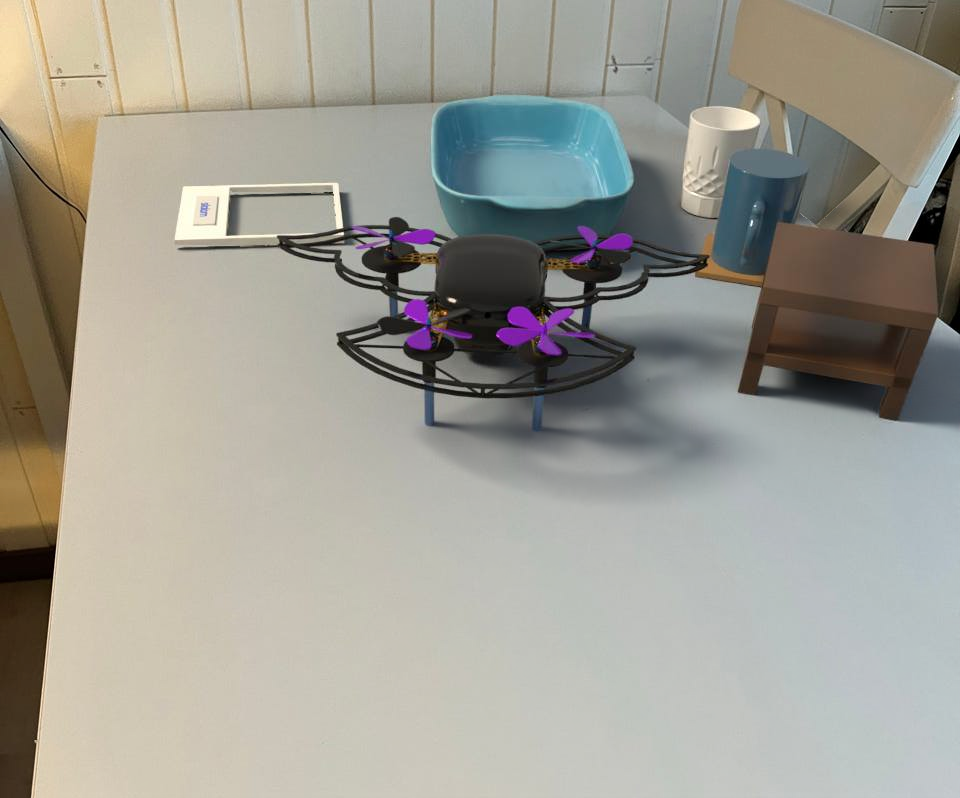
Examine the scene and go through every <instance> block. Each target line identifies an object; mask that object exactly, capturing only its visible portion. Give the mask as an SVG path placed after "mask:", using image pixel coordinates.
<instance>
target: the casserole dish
mask: <svg viewBox="0 0 960 798" xmlns="http://www.w3.org/2000/svg"><path fill="white" fill-rule="evenodd" d="M430 169H431V175H432V178H433V182H434V185H435V190H436V194H437V197H438V202H439V204H440V207H441V210H442V213H443V215H444V218H445V220H446V223H447V224H448V226H449V227H450V229H451V230H452V232H454V234H455V235H456V236H457V237H459V236H464V235H473V234H499V235H508V236H515V237H519V238H523V239H526V240H529V241H531V242H538V241H542V240H546V239H551V238H557V237H564V236H574V235H582V234H581V233H580V232H579V231H578V227H579V226H585V227H587V228H589V229H591V230H593V231H594V232H595V233H596V234H597V235H607V236H610V234H611V233H612V231H613V230H614V229H615V227H616V225H617V223H618V221H619V219H620V218H621V215H622V213H623V212H624V208H625V206H626V203H627V201H628V198H629V196H630V194H631V192H632V190H633V187H634V183H635V174H634V171H633V170H634V169H633V167H632V163H631V161H630V157H629V155H628V152H627V149H626V147H625V143H624V140H623V137H622V134H621V132H620V130H619V127H618V125H617V122H616V120H615V118H614V117H613V115H611V113H610V112H609V111H607V110H606V109H604V108H603V107H601V106H598V105H596V104H593V103H589V102H584V101H579V100H568V99H561V98H554V97H550V96H545V95H535V94H534V95H533V94H532V95H531V94H530V95H529V94H498V95H497V94H495V95H488V96H484V97H475V98H465V99H458V100H452V101H450V102H447V103H444V104H443V105H441V106H439V108H437V109H436V111H435V112H434V114H433V116H432V119H431V124H430ZM603 240H604V239H597V241H596V243H601V242H602V241H603ZM563 242H568V243H572V244H577V243H588V242H587V240H586V239H575V240H565V241H563ZM557 245H562V244H556V243H548V244H544V245H540V247H541V248H546V247H552V246H557ZM582 249H583V250H584V249H585V250H586V249H587V248H586V247H577V248H567V249H559V250H558V251H574V250H582Z"/></svg>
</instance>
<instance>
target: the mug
mask: <svg viewBox="0 0 960 798" xmlns="http://www.w3.org/2000/svg"><path fill="white" fill-rule="evenodd" d="M809 171H810V164H808V162H807V161H806V160H805V159H803V158H802V157H800V156H798V155H795V154H792V153H790V152H786V151H783V150H777V149H770V148H754V149H747V150H742V151H738V152H736V153H734V154H733V155H732V156H731V157H730V160H729V165H728V170H727V175H726V180H725V185H724V190H723V195H722V200H721V205H720V210H719V215H718V218H717V220H716V226H715V230H714V234H713V235H714V240H713V245H712V250H711V258H712V260H713V261H714V262H715V263H716V264H717V265H719V266H720V267H722V268H724V269H727V270H729V271H732V272H736V273H740V274H747V275H764V274H765V270H766V266H767V262H768V258H769V254H770V250H771V246H772V242H773V237H774V233H775V229H776V225H777V222H783V223H790V224H796V223H797V218H798V215H799V210H800V206H801V203H802V198H803V195H804V191H805V187H806V184H807V179H808V176H809Z"/></svg>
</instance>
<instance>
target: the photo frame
mask: <svg viewBox="0 0 960 798" xmlns="http://www.w3.org/2000/svg"><path fill="white" fill-rule="evenodd" d="M325 190H333V193H332V194H334V196H333V205H334V204H335V206H334V215H335V214H336V216H335V225H336V229H340V228H344V223H343V214H342V206H341V197H340V187H339V182H313V183H309V182H308V183H275V184H274V183H271V184H233V185H231V184H230V185H229V184H228V185H226V184H225V185H194V186H193V185H192V186H191V185H190V186H189V185H187V186H185V185H184V186H183V187H182V193H181V197H180V204H179V210H178V216H177V222H176V227H175V235H174V245H265V246H264V247H266V246H267V245H270V246H278V244H279V239H278V238H277V235H309V234H317V233H318V232H312V233H310V232H307V233H277V234H273V233H272V234H246V235H245V234H244V235H243V234H242V235H228V236H227V228H228V229H229V223H228V214H229V215H230V211H229V199H230V200H231V198H230V191H232V192H238V191H239V192H325ZM228 212H229V213H228ZM342 236H345V232H342V233H338V234H334V235H330V236H324V237H318V238H310V239H290V240H291V241H292V242H294V243H297V244H300V243H313V242H319V241H326V240H330V239H334V238H338V237H342ZM283 244H285V243H283ZM332 244H345V240H343V241H339V242H336V243H332ZM332 244H331V245H332ZM267 247H268V246H267Z"/></svg>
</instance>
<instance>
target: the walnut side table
mask: <svg viewBox="0 0 960 798" xmlns="http://www.w3.org/2000/svg"><path fill="white" fill-rule="evenodd" d="M935 257H936V256H935V244H934V243H933V244H932V243H927V242H926V243H925V242H920V241H919V242H917V241H911V240H906V239H897V238H892V237H884V236H878V235H871V234H864V233H857V232H851V231H845V230H844V231H843V230H838V229H830V228H822V227H818V226H817V227H816V226H810V225H804V224H797V223H795V224H790V223H783V222H777V225H776V229H775V233H774V237H773V242H772V246H771V250H770V254H769V258H768V262H767V266H766V270H765V274H764V278H763V282H762V287H760V291H759V294H758V299H757V303H756V306H755V307H756V308H755V310H754V311H755V312H754V315H753V320H752V324H751V333H750V337H749V342H748V345H747V346H748V347H747V351H746V356H745V359H744V362H743V363H744V364H743V366H742V372H741V376H740V379H739V384H738V389H737V393H741V394H746V395H752V396H755V395H756V394H757V391H758V387H759V384H760V379H761V375H762V372H763V367H765V366H766V367H770V368H771V367H772V368H777V369H783V370H788V371H793V372H801V373H805V374H812V375H816V376H824V377H829V378H835V379H840V380H841V379H842V380H845V381H853V382H856V383H857V382H858V383H862V384H864V383H865V384H869V385H875V386H881V387H886V388H885V391H884V394H883V396H882V398H881V402H880V404H879V407H878V418H880V419H887V420H892V421H898V420H899V418H900V415H901V412H902V410H903V407H904V405H905V402H906V399H907V397H908V395H909V394H908V393H909V391H910V389H911V387H912V384H913V381H914V378H915V376H916V373H917V371H918V368H919V366H920V364H921V361H922V358H923V355H924V353H925V350H926V347H927V345H928V342H929V339H930V337H931V334H932V331H933V329H934V326H935V324H936V322H937V319H938V317H939V308H938V307H939V306H938V305H939V304H938V291H937V274H936V273H937V272H936V259H935Z"/></svg>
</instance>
